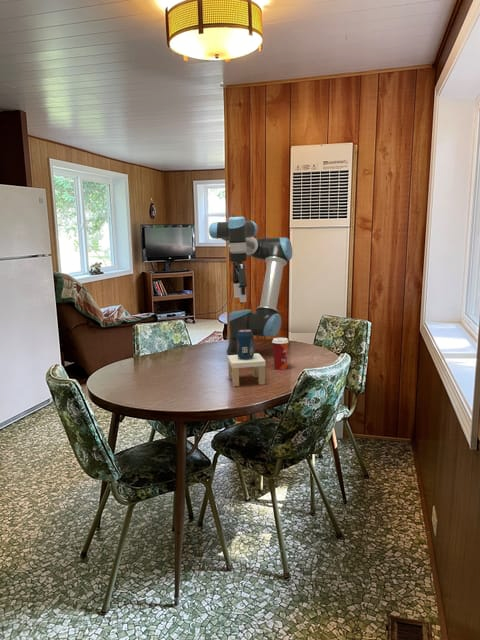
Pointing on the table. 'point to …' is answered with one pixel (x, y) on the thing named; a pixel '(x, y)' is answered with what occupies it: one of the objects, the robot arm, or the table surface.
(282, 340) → the paper cup
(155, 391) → the table surface
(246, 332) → the soda can
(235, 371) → the small white stool
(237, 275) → the robot arm
